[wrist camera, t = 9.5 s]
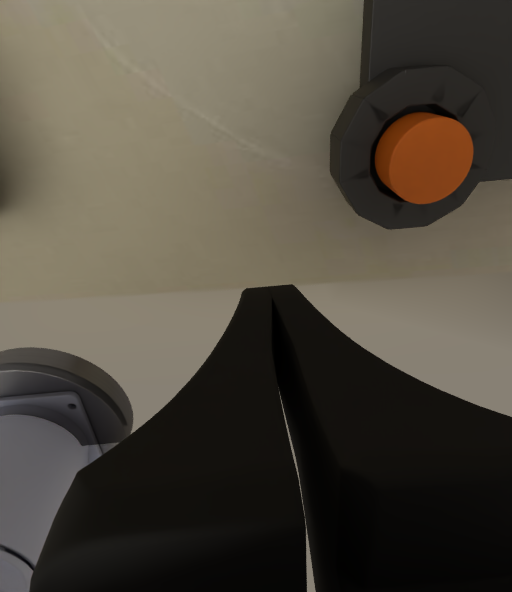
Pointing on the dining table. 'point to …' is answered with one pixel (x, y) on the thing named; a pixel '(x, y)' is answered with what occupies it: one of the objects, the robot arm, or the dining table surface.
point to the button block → (426, 97)
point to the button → (424, 157)
